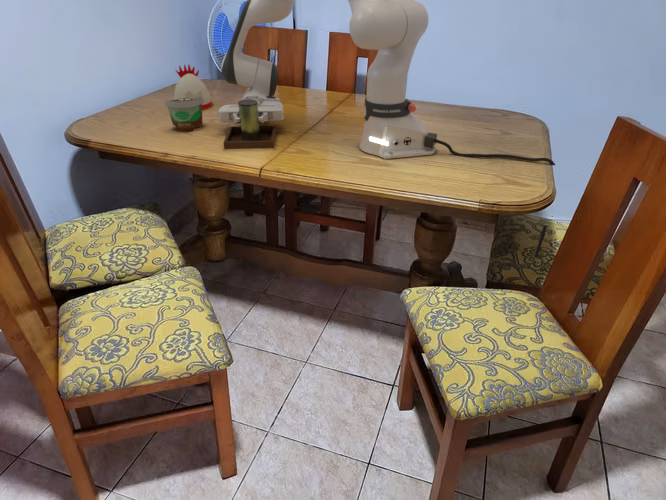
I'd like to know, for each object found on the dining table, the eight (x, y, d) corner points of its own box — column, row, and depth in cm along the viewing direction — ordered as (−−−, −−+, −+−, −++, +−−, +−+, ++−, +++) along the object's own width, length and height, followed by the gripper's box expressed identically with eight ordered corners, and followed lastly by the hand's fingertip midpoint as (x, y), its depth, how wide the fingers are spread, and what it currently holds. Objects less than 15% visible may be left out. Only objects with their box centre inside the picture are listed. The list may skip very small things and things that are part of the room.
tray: (276, 133, 150) (275, 125, 148) (273, 149, 138) (273, 141, 136) (231, 134, 149) (230, 126, 148) (224, 150, 137) (223, 142, 136)
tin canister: (261, 135, 146) (258, 99, 139) (260, 142, 141) (256, 104, 135) (243, 136, 145) (239, 99, 139) (241, 142, 141) (236, 104, 134)
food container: (168, 134, 149) (162, 103, 144) (169, 128, 154) (163, 97, 149) (208, 130, 152) (203, 100, 146) (207, 125, 157) (202, 95, 151)
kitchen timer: (172, 103, 179) (164, 62, 171) (207, 99, 184) (201, 59, 176) (178, 113, 169) (170, 69, 160) (215, 108, 173) (209, 66, 165)
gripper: (220, 98, 148) (213, 111, 137) (284, 97, 149) (282, 109, 138) (222, 117, 152) (216, 131, 140) (285, 116, 153) (283, 130, 141)
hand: (249, 120), depth 139 cm, fingers closed on tin canister, 5 cm apart
